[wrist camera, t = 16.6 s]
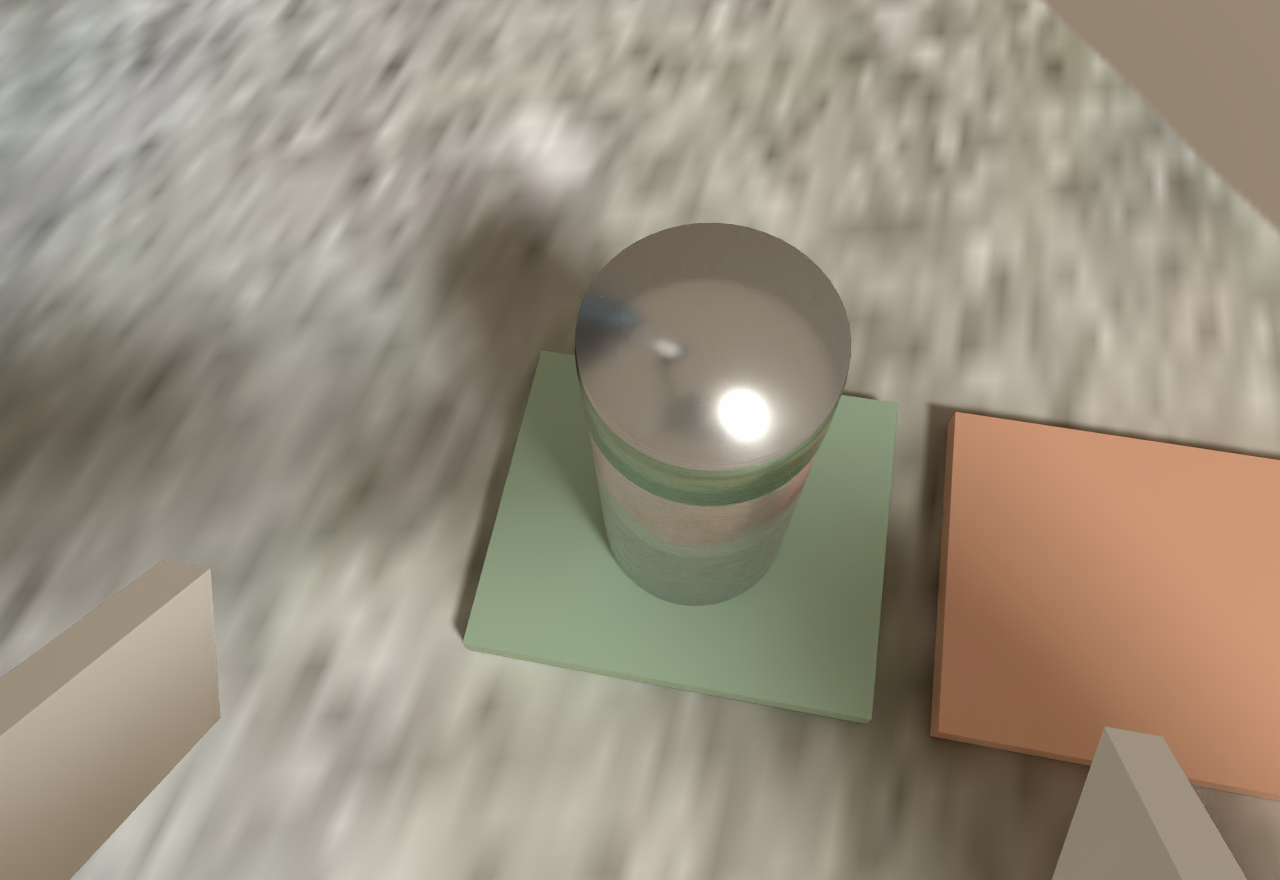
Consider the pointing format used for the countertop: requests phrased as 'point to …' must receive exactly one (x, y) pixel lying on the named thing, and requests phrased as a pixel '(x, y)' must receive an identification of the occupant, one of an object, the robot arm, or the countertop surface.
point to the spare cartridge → (707, 402)
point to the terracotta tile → (1109, 599)
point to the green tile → (679, 634)
